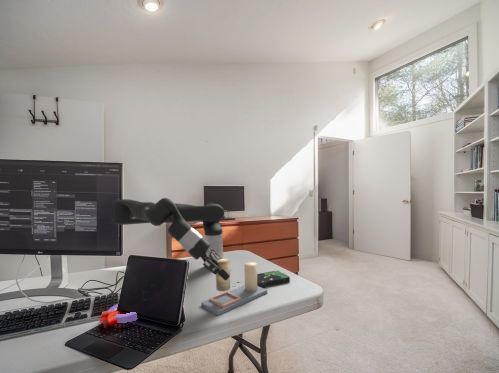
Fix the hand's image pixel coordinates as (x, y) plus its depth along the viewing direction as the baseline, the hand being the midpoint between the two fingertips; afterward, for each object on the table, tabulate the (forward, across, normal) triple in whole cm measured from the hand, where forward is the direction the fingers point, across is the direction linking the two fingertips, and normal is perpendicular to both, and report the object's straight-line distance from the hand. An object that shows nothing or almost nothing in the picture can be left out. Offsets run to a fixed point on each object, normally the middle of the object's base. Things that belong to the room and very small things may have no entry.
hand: (228, 275), depth 92 cm
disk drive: (+20, -20, +4) cm, 28 cm away
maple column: (+2, 0, -5) cm, 5 cm away
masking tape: (-15, +8, -31) cm, 36 cm away
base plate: (+9, -4, -6) cm, 11 cm away
